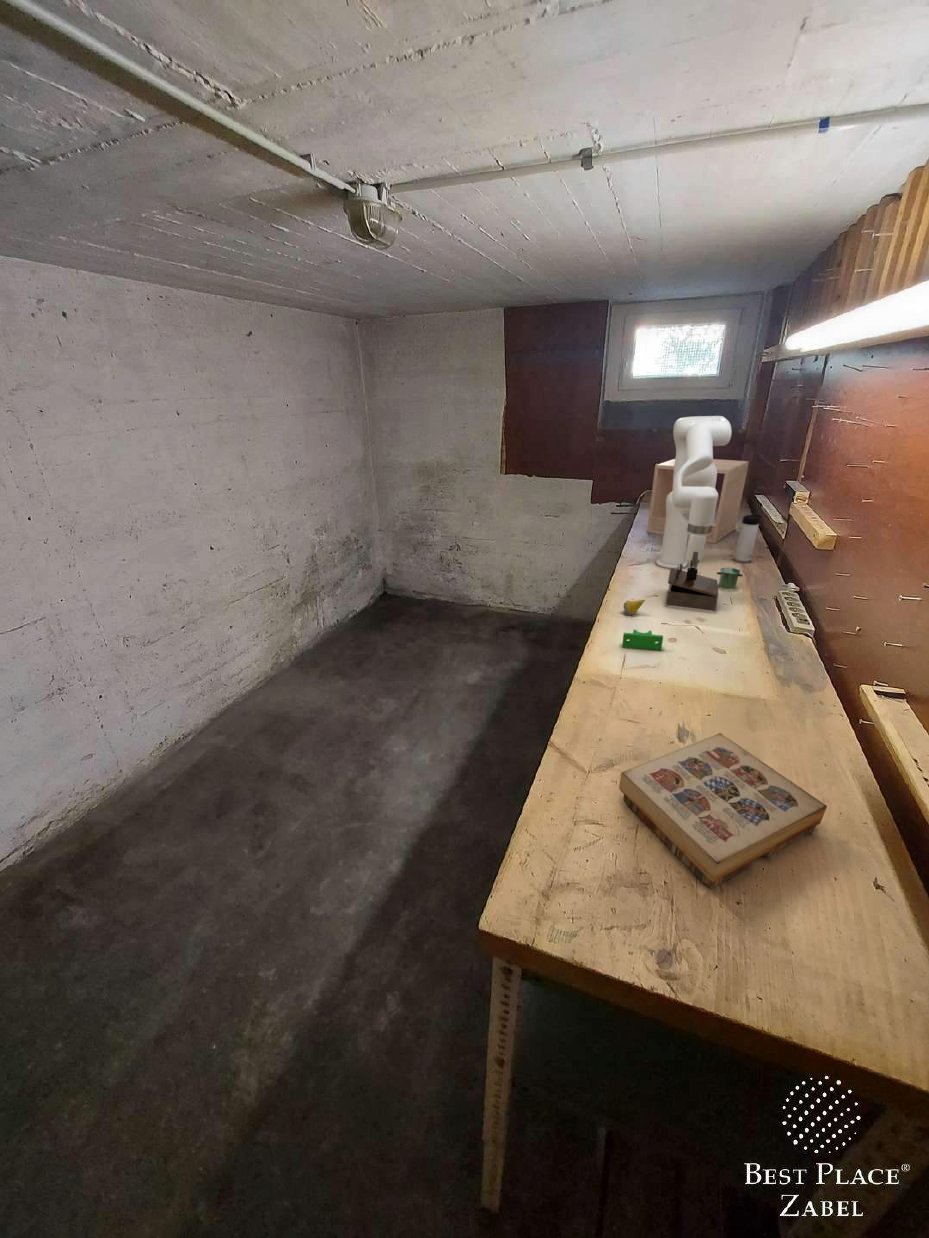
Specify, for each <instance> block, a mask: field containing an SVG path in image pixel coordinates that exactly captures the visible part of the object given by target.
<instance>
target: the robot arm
mask: <svg viewBox="0 0 929 1238" xmlns="http://www.w3.org/2000/svg"><path fill="white" fill-rule="evenodd" d="M732 432H733V431H732V425H731V423H730V421H729V420H728V419H727V418H726V417H724V416H722V415H704V416H702V415H697V416H696V415H695V416H685V417H684V416H683V417H680V418H678V419H676V421H675V422H674V424H673V430H672V435H673V440H674V445H675V458H674V459H675V466H674V474H673V492H671V493H669V494H668V496H667V498H666V522H665V529H664V535H663V536H662V537H663V538H662V543H661V544H662V545H661V549H660V550H659V551H657V552H656V555H659V557H658V558H657V559H656V560H655V563H656V565H657V566H660V567H662V568H665V569H671V568H674V569H677V567H678V564H682V565H683V567H682V569H683V568H686V567H687V566H688V567H687V569H686V570H687V571H686V572H687V576H686V580H693V581H695V580H696V577H697V575H698V570H699V569H698V567H699V564H701V563H702V560H703V556H704V551H705V547H706V543H707V542H706V537H707V535H711V531H712V526H713V524H714V521H715V520H714V519H715V514H716V509H717V503H718V500H719V492H718V491H717V489H716V484H717V477H718V473H717V467H716V465H715V464H713V463H712V461H713V459H714V447H724V446H727V445H728V444H729V442H730V441H731V438H732ZM685 515H689V518H687V517H686V516H685ZM688 520H689V522H688ZM688 534H690V536H689V539H688Z"/></svg>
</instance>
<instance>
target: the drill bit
mask: <svg viewBox="0 0 929 1238" xmlns="http://www.w3.org/2000/svg"><path fill="white" fill-rule="evenodd" d="M644 602H646V599H640V600H632V601H631V600H626V601H625V602H623V612H624V613H625V614H624V616H627V615H628V616H630V617H633V616H635V615H636V614H637V613H638V611H639V609H640V608H641V607H642V605H643V604H644Z"/></svg>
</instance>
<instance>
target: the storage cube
mask: <svg viewBox="0 0 929 1238" xmlns="http://www.w3.org/2000/svg"><path fill="white" fill-rule="evenodd" d="M712 463H713V464H715V465H716V467H717V474H724V477H723V482H722V488H721V492H720V498H719V502H718V509H717V514H716V519H715V523H713V526H712V531H711V535H707V537H706V542H705V543H712V544H715V543H717V542H719V541H720V540H721V539H723V538H724V537H726V536H727V535H729V534H730V533H731V532H733V531H735V530H736V528H737V522H738V519H739V512H740V508H741V502H742V498H743V494H744V488H745V483H746V478H747V474H748V469H749V464H750V462H749V461H748V460H734V459H716V458H713V461H712ZM674 466H675V458H673V459H670V460H667V461H664V462H661V463H658V464H655V465H654V472H653V473H654V474H653V481H652V490H651V495H650V497H651V499H650V505H649V506H650V507H649V513H648V520H647V530H646V532H647V533H649V534H650V533H651V534H655V535H661V536H662V535H663V536H664V529H665V522H666V498H667V496H668V494H669V493H671V492H673V474H674ZM687 520H688V522H689V519H687ZM689 536H690V534H688V539H687V540H689Z"/></svg>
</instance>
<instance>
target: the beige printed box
mask: <svg viewBox="0 0 929 1238" xmlns="http://www.w3.org/2000/svg"><path fill="white" fill-rule="evenodd" d="M619 778H620V779H619V784H618V785H619V786H618V790H619V791H621V793H622V794H623V801H624V802H625V803H626V804H627V806H628V807H629V808H630V809H631V810H632V811H633V812H634V813H636V816H637V817H638V818H639V819H641V821H643V822H644V823H645V824H646V825H647V826H648V827H649V828H650V829H651V830H652V831H653V833H655V835H656V836H657V837H658V838H659V839H660V841H662V842H663V843H664V844H665V845H666V848H667V849H668V850H669V851H670V852H671V853H672V854H673V855H675V856H676V858H678V860H680V861H681V863H683V864H684V866H686V867H687V868H688V869H690V871H691V873H692V874H693V875H694V876H695V877H696V878H698V880H700V882H701V883H704V884H706V885H707V887H709V888H710V889H714V888H716V887H717V886H719V885H721V884H722V883H725V882H727V881H728V880H730V879H731V878H734V877H735V876H738V875H739V874H741V873H742V872H744V871H745V870H747V868H748V867H749V866H748V865H749V863H751V862H753V861H754V860H756V859H758V858H760V857H761V856H764V857H766V858H769V857H771V856H773V855H774V854H776V853H778V852H779V851H781V850H782V849H784V848H785V847H787V846H790V845H792V843H795V841H798V840H800V839H802V838H803V837H805V836H807V835H808V834H811V833H812V832H813V831H814V829H815V828H816V827H817V826H819V825H820V824H821V822H822V820H823V817H824V815H825V813H826V810H827V808H828V806H827V805H826V804H825V803H823V802H822V801H821V800H819V799H817V798H816V797H815V796H813V795H812V794H811V793H809V792H807V791H806V790H805V789H803V788H802V787H800V786H799V785H797V784H796V783H794V782H793V781H792V780H790V779H788V778H787V777H785V776H784V775H782V774H781V773H779V772H778V771H777V770H775V769H774V768H772V767H771V766H769V765H768V764H767V763H765V762H763V761H762V760H761V759H760V758H758V757H757V756H755V755H753V754H751V753H750V752H749V751H747V749H744V748H743V747H742V746H740V745H739V744H737V742H734V741H733V740H731V739H730V738H729V737H727V736H725V735H724V734H722V732H720V733H716V734H713V735H711V736H709V737H706V738H704V739H703V738H702V739H700V740H697V741H696V742H694V743H691V744H688V745H685V746H683V747H681V748H677V749H676V750H673V751H671V752H669V753H665V754H663V755H661V756H658V757H656V758H653V759H650V760H648V761H645V762H644V763H641V764H639V765H636V766H634V767H631V768H629V769H627V770H624V771H621V772H620V777H619ZM624 799H625V800H624Z"/></svg>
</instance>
